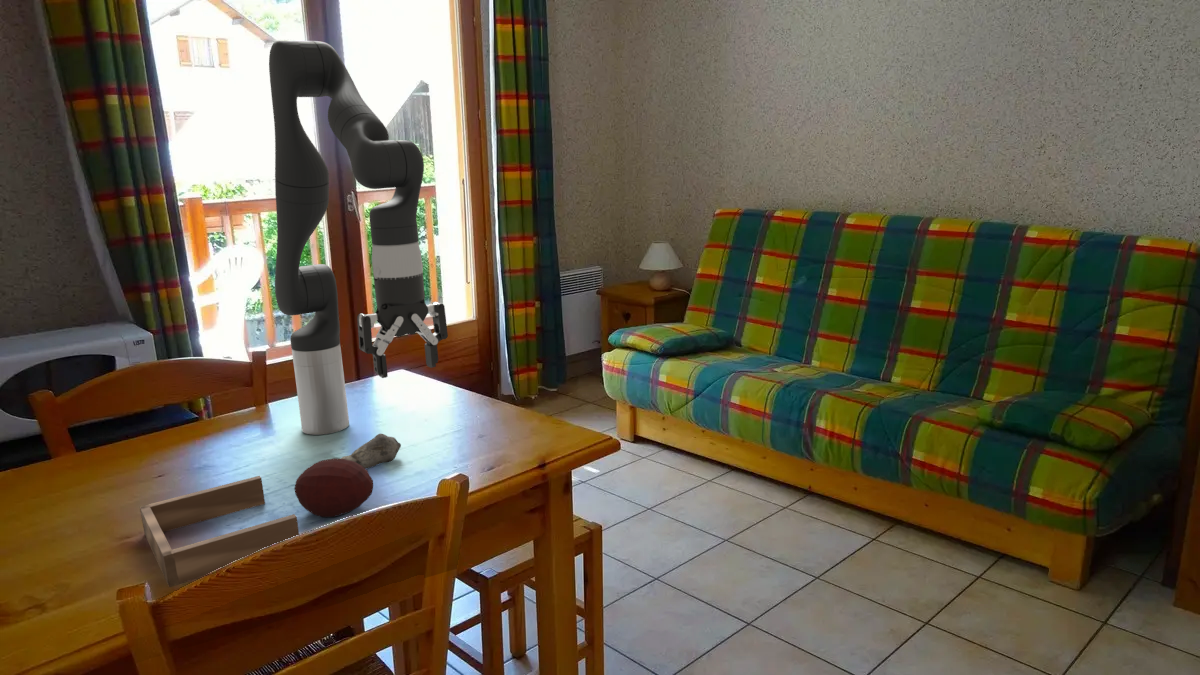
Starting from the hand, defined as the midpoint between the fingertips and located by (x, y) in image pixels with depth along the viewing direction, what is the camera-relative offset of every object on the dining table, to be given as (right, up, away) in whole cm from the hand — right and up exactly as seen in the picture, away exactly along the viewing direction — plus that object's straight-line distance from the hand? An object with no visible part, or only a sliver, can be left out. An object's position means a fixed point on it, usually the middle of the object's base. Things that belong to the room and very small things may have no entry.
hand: (407, 371), depth 131 cm
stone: (-10, -18, +15) cm, 25 cm away
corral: (-24, -24, -11) cm, 36 cm away
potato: (-10, -22, -3) cm, 25 cm away
